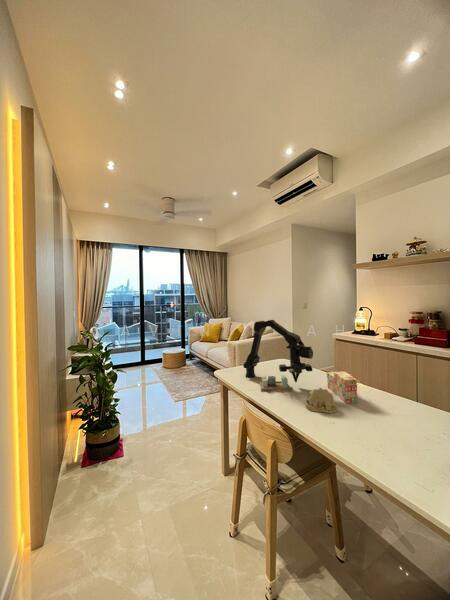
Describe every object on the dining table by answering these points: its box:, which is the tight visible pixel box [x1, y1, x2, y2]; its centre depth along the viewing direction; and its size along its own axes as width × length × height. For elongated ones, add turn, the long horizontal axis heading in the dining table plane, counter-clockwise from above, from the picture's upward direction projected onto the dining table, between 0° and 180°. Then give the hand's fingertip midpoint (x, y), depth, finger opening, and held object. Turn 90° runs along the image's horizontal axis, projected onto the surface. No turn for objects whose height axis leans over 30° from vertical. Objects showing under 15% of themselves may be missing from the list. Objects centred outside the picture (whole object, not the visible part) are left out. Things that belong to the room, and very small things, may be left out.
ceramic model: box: [304, 387, 338, 414], centre depth 121 cm, size 14×11×10 cm
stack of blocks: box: [326, 371, 358, 404], centre depth 136 cm, size 21×6×12 cm, turn 1°
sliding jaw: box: [280, 374, 289, 387], centre depth 150 cm, size 8×2×4 cm, turn 176°
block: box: [267, 375, 277, 387], centre depth 150 cm, size 4×4×5 cm
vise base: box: [259, 375, 292, 392], centre depth 150 cm, size 12×17×6 cm
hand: (295, 382), depth 149 cm, fingers closed
